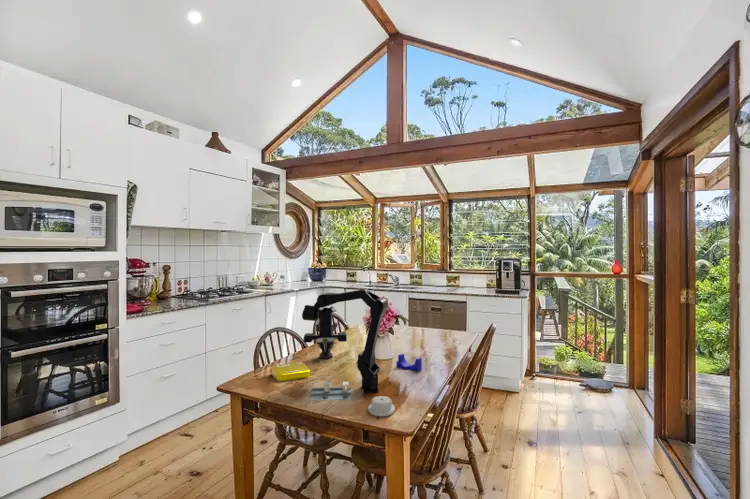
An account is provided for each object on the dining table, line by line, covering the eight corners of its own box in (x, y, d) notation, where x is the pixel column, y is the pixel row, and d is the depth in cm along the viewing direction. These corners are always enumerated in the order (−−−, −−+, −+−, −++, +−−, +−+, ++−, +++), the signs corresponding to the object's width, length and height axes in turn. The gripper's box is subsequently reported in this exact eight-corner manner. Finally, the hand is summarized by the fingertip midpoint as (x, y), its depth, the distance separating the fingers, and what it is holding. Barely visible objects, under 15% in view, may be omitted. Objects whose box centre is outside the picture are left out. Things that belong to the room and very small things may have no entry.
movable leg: (330, 390, 158) (330, 381, 158) (329, 398, 150) (329, 389, 150) (324, 390, 158) (324, 382, 158) (323, 398, 150) (323, 389, 149)
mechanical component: (400, 410, 142) (379, 403, 149) (400, 398, 142) (379, 392, 148) (383, 420, 135) (362, 412, 141) (383, 407, 134) (362, 400, 141)
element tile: (277, 385, 167) (277, 374, 167) (271, 374, 180) (271, 364, 180) (311, 380, 173) (311, 369, 173) (302, 370, 187) (302, 360, 187)
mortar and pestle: (341, 356, 209) (341, 320, 208) (336, 360, 200) (336, 323, 200) (321, 354, 212) (322, 318, 211) (315, 359, 203) (316, 322, 203)
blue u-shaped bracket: (396, 367, 191) (396, 355, 191) (401, 365, 194) (401, 353, 194) (416, 372, 183) (416, 360, 183) (421, 370, 187) (421, 358, 187)
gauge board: (350, 390, 161) (350, 379, 161) (350, 401, 149) (350, 390, 149) (312, 390, 160) (312, 380, 160) (309, 402, 148) (309, 391, 148)
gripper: (345, 317, 177) (345, 350, 177) (305, 318, 175) (305, 352, 175) (346, 322, 166) (346, 358, 166) (303, 323, 164) (303, 359, 164)
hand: (325, 356), depth 168 cm, fingers closed
